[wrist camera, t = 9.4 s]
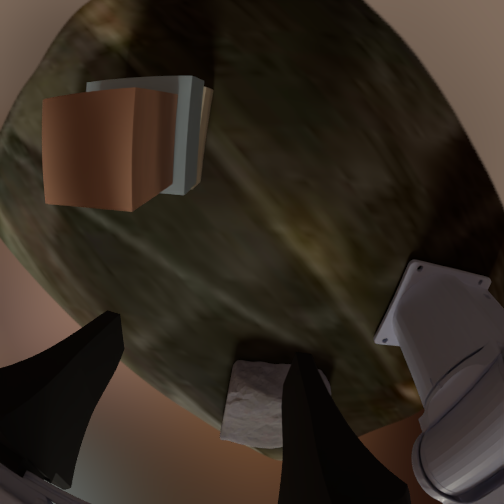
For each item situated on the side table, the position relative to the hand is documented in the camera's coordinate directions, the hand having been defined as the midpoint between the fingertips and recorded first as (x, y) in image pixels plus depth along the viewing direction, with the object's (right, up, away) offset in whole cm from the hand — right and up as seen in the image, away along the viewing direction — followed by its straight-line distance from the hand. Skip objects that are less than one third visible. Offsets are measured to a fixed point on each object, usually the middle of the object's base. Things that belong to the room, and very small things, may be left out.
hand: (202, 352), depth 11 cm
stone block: (+4, -11, +17) cm, 21 cm away
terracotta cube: (-4, +10, +2) cm, 11 cm away
